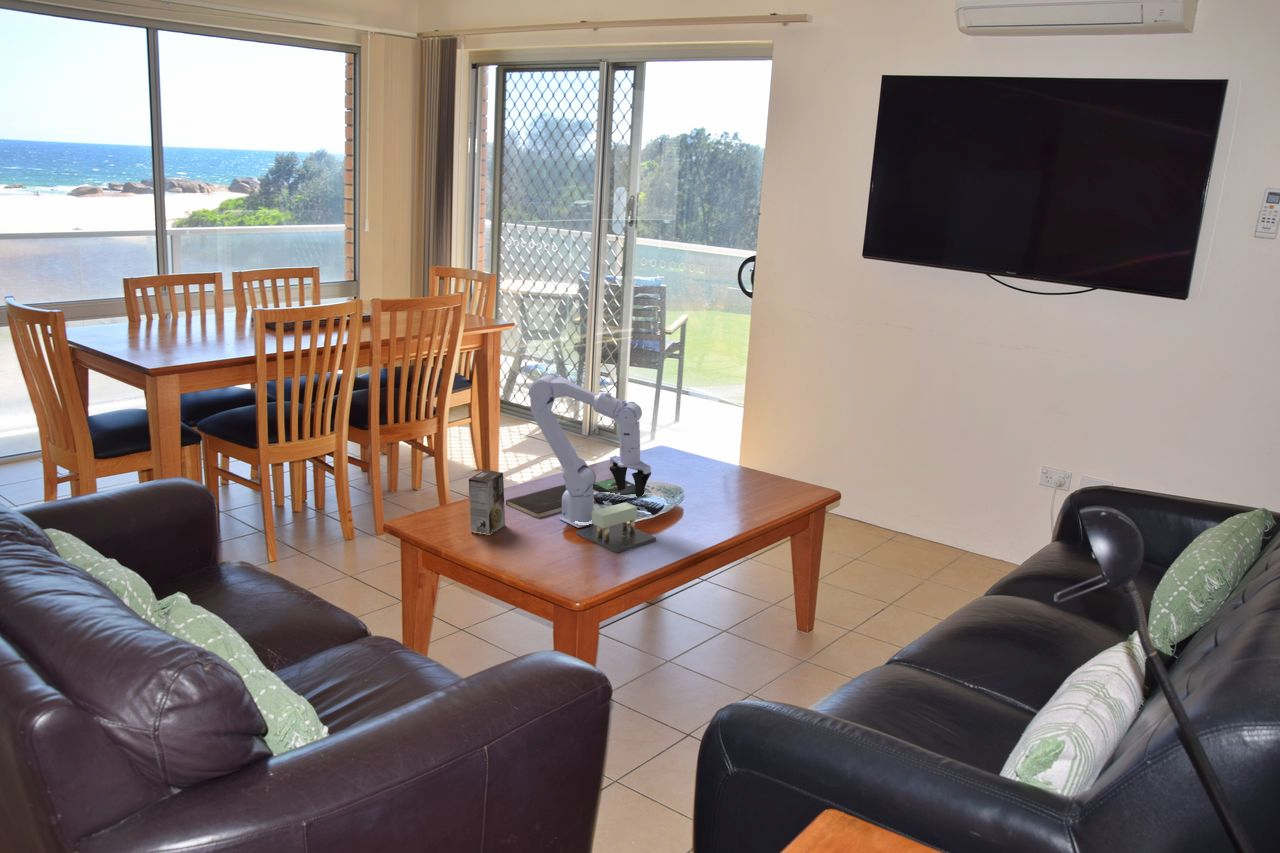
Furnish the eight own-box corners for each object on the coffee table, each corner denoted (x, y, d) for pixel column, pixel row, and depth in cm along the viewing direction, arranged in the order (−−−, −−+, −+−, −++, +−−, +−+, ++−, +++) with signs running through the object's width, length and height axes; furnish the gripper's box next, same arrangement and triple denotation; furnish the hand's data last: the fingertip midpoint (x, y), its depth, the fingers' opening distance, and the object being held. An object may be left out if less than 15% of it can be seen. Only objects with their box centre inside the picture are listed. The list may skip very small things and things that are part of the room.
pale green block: (591, 523, 283) (591, 511, 282) (625, 513, 290) (625, 502, 289) (603, 528, 279) (603, 516, 278) (637, 518, 287) (637, 506, 286)
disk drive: (645, 497, 321) (618, 484, 333) (645, 489, 320) (618, 476, 332) (618, 503, 315) (591, 490, 327) (618, 495, 315) (591, 481, 326)
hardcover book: (598, 502, 316) (598, 495, 315) (537, 520, 301) (537, 512, 300) (565, 490, 327) (565, 483, 327) (505, 506, 312) (505, 499, 312)
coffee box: (486, 522, 297) (484, 469, 293) (505, 525, 295) (504, 471, 291) (469, 533, 289) (467, 478, 285) (490, 536, 287) (488, 481, 283)
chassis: (576, 534, 289) (576, 517, 287) (615, 523, 297) (615, 506, 296) (616, 553, 275) (616, 535, 274) (656, 540, 284) (656, 523, 283)
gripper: (601, 444, 290) (602, 490, 294) (637, 454, 280) (638, 501, 284) (620, 439, 295) (621, 484, 299) (655, 449, 285) (656, 495, 288)
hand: (630, 492), depth 291 cm, fingers open, 7 cm apart
